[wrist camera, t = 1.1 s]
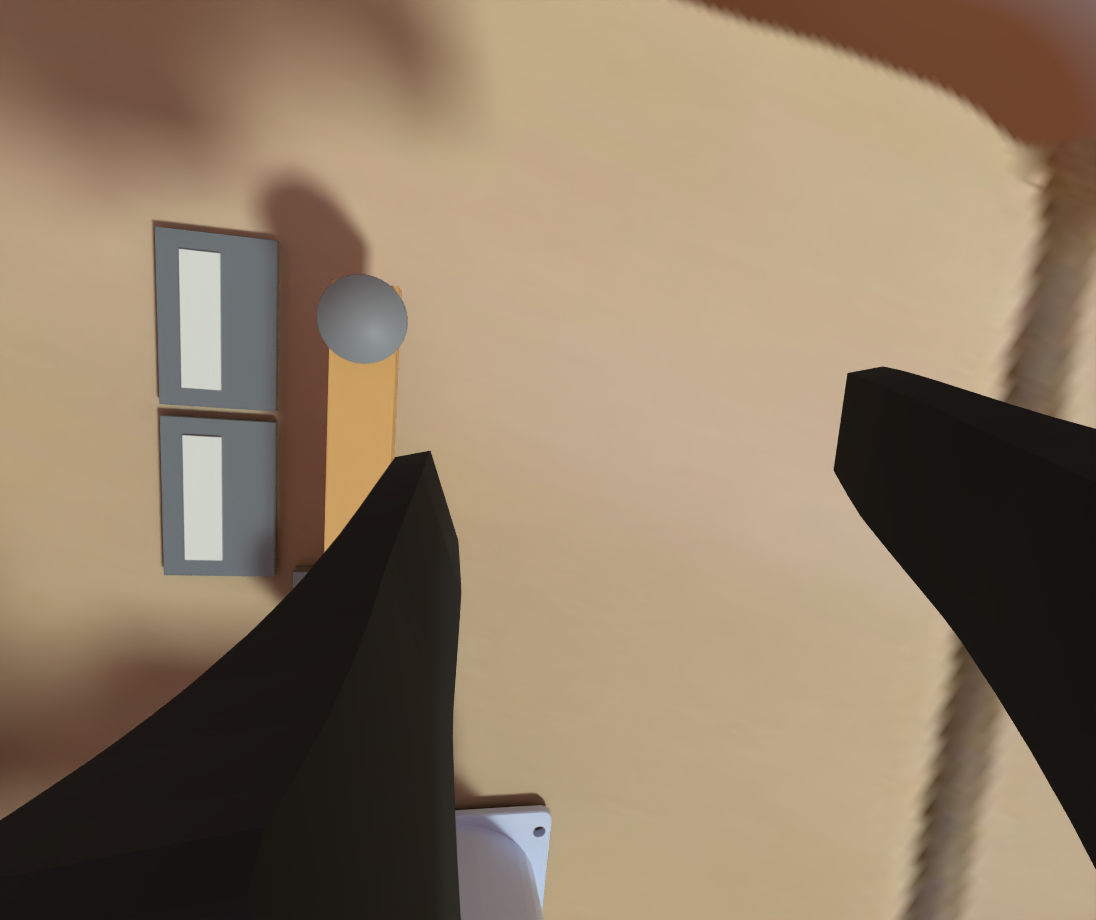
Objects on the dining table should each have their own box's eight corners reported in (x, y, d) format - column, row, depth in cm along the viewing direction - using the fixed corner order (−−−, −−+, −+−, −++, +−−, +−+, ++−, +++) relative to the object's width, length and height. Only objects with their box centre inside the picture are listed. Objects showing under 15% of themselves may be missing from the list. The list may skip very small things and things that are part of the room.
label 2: (276, 573, 23) (273, 577, 22) (167, 571, 22) (163, 575, 21) (277, 421, 22) (274, 423, 21) (163, 414, 21) (158, 416, 20)
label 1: (277, 410, 21) (274, 411, 21) (163, 402, 21) (158, 403, 20) (279, 241, 20) (276, 240, 20) (158, 227, 20) (153, 226, 19)
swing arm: (403, 698, 22) (400, 743, 20) (309, 701, 21) (294, 747, 19) (424, 287, 19) (424, 280, 17) (318, 275, 19) (301, 267, 16)
